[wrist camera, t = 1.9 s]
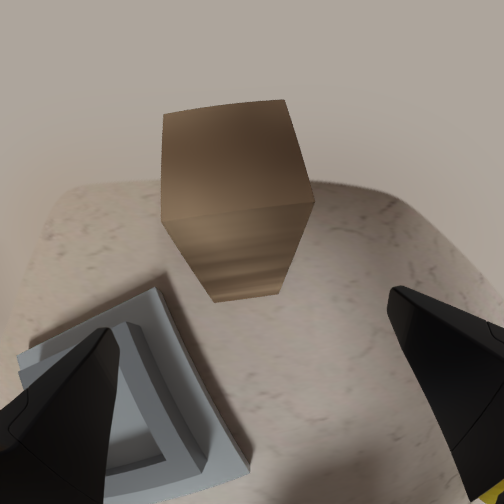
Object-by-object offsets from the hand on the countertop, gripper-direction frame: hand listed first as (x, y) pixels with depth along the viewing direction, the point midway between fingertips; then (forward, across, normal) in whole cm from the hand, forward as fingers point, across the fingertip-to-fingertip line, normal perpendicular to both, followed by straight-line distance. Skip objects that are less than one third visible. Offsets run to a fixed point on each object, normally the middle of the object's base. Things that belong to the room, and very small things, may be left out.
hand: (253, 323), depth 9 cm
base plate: (+5, +10, +12) cm, 16 cm away
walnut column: (+12, 0, +5) cm, 13 cm away
